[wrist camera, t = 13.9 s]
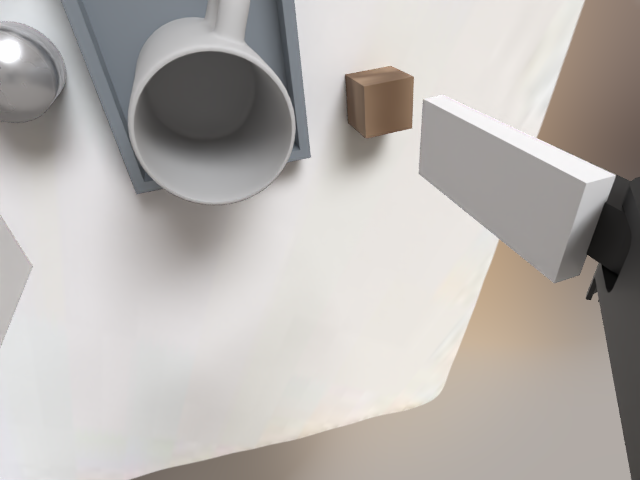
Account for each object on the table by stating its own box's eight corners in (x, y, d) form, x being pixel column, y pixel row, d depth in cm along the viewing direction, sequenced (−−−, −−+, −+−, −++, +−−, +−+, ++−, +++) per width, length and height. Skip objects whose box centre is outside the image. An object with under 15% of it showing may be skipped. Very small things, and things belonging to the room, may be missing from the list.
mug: (246, 149, 34) (276, 215, 25) (131, 128, 30) (119, 197, 21) (283, -18, 28) (338, -7, 19) (147, -67, 25) (141, -81, 16)
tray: (138, 180, 33) (136, 194, 31) (37, -85, 23) (26, -89, 21) (302, 146, 36) (310, 157, 34) (273, -104, 26) (282, -109, 24)
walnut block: (347, 122, 36) (365, 138, 33) (344, 74, 33) (364, 86, 30) (390, 113, 37) (412, 128, 33) (390, 65, 34) (413, 76, 31)
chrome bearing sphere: (-1, 110, 28) (-22, 130, 25) (-46, 27, 25) (-76, 37, 22) (79, 97, 29) (69, 114, 26) (45, 15, 26) (29, 23, 23)
